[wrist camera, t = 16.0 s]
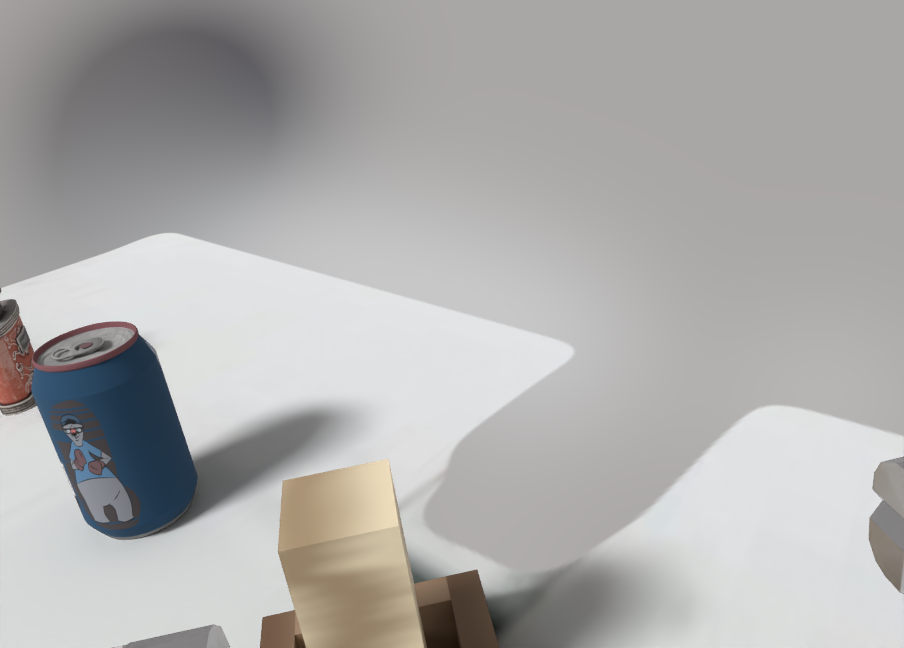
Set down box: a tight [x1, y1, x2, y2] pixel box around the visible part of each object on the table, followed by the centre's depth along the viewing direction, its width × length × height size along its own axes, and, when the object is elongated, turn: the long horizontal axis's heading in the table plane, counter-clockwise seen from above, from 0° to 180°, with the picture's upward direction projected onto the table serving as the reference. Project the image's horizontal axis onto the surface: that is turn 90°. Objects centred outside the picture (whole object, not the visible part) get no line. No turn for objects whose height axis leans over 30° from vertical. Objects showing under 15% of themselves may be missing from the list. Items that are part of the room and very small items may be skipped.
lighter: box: [0, 288, 36, 415], centre depth 65 cm, size 8×3×10 cm, turn 19°
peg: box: [278, 459, 427, 648], centre depth 29 cm, size 4×4×12 cm
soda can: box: [31, 322, 197, 540], centre depth 46 cm, size 7×7×12 cm
